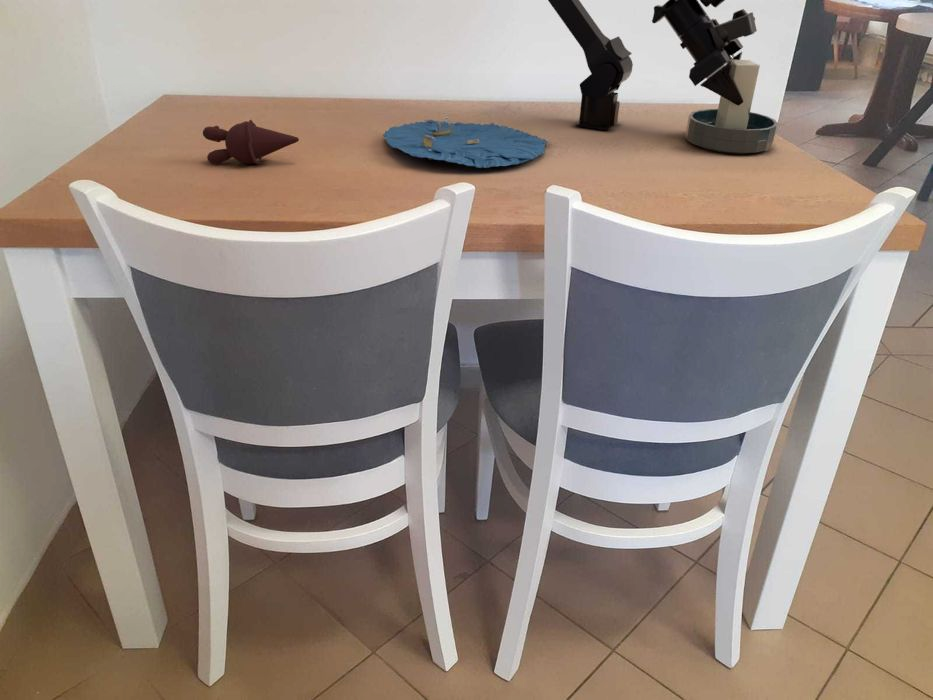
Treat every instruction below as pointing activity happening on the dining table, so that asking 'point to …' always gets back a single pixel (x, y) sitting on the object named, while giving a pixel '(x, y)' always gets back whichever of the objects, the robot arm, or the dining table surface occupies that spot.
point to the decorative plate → (466, 143)
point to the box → (746, 83)
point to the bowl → (731, 133)
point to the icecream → (246, 142)
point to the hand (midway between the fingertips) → (743, 100)
